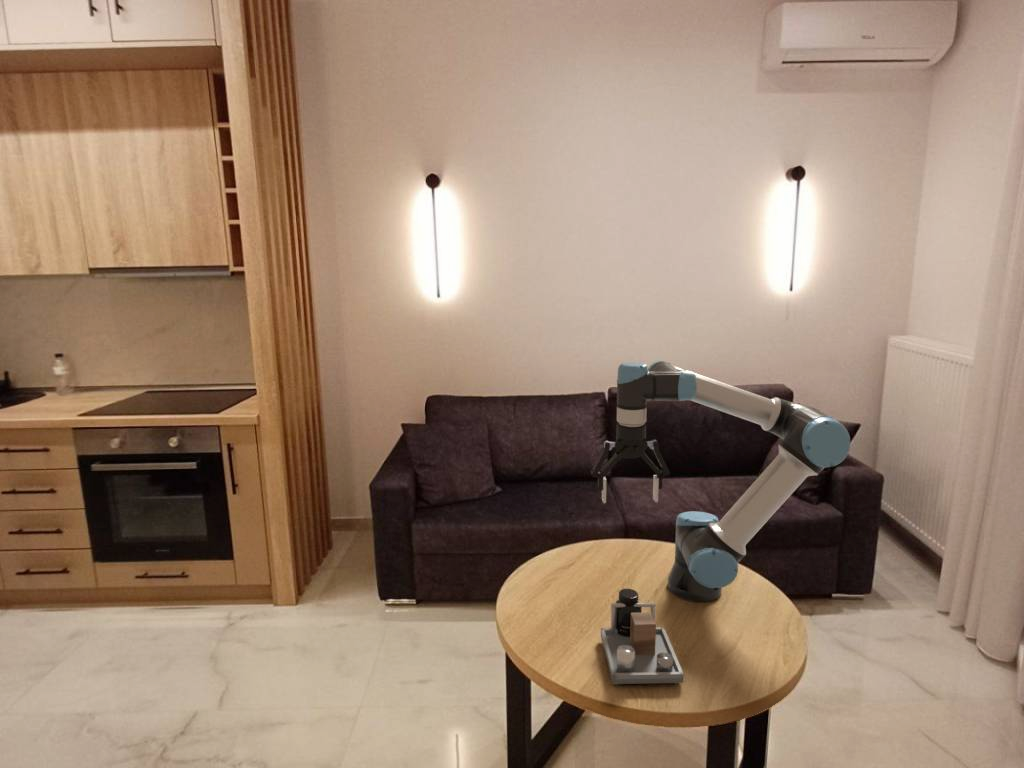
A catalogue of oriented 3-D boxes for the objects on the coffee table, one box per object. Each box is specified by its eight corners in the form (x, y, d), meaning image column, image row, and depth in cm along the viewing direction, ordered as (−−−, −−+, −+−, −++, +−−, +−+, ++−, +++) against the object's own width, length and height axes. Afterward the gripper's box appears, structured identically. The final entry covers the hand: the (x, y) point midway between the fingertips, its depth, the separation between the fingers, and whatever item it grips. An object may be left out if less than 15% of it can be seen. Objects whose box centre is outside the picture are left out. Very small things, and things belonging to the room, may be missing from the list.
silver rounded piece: (632, 664, 143) (632, 644, 142) (635, 675, 140) (636, 655, 139) (615, 664, 143) (615, 645, 142) (618, 675, 140) (618, 656, 139)
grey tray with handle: (663, 638, 157) (664, 601, 154) (683, 687, 139) (684, 645, 137) (600, 640, 157) (601, 602, 154) (612, 688, 139) (613, 647, 137)
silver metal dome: (670, 663, 143) (670, 652, 143) (674, 674, 140) (674, 662, 139) (654, 664, 143) (655, 652, 143) (658, 674, 140) (659, 662, 139)
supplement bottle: (624, 646, 153) (625, 603, 151) (608, 632, 159) (608, 590, 156) (646, 638, 156) (647, 595, 154) (629, 625, 162) (630, 583, 160)
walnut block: (655, 654, 147) (655, 624, 145) (634, 654, 147) (634, 624, 145) (650, 641, 152) (651, 612, 150) (630, 641, 152) (630, 612, 150)
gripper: (675, 418, 161) (673, 494, 165) (581, 420, 161) (580, 496, 165) (683, 425, 154) (680, 505, 158) (584, 427, 154) (584, 507, 158)
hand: (629, 500), depth 162 cm, fingers open, 13 cm apart
